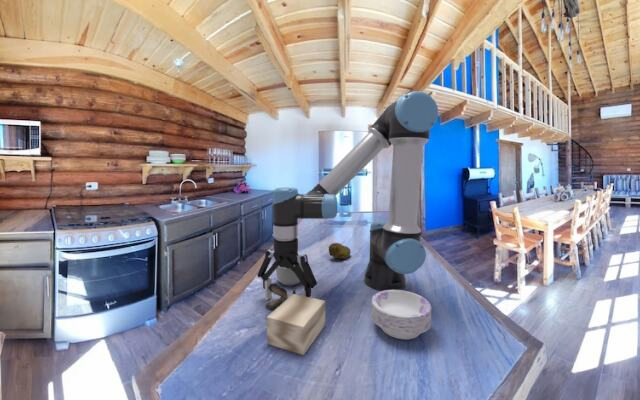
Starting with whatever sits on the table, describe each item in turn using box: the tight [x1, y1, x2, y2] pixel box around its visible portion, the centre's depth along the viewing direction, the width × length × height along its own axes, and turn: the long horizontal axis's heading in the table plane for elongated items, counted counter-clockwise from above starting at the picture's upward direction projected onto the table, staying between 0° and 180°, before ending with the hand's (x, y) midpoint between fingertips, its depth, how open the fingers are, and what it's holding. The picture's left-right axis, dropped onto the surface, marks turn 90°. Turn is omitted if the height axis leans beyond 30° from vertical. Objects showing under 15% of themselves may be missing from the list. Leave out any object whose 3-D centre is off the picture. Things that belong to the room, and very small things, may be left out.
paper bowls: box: [371, 289, 432, 340], centre depth 70 cm, size 15×15×8 cm
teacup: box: [275, 260, 304, 286], centre depth 101 cm, size 14×11×8 cm
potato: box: [328, 242, 351, 260], centre depth 125 cm, size 8×13×8 cm, turn 117°
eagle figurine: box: [265, 282, 297, 310], centre depth 83 cm, size 8×7×9 cm
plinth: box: [266, 293, 326, 356], centre depth 68 cm, size 10×13×7 cm
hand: (286, 302), depth 84 cm, fingers open, 13 cm apart
